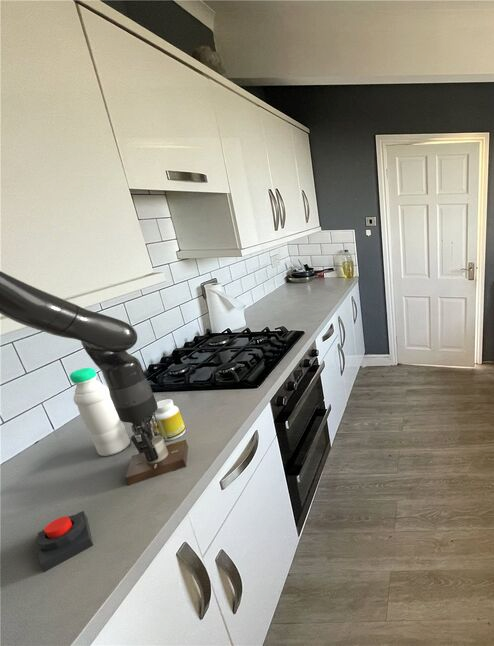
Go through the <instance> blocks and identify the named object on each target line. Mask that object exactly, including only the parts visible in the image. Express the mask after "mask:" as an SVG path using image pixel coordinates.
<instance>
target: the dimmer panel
mask: <svg viewBox="0 0 494 646" xmlns="http://www.w3.org/2000/svg"><path fill="white" fill-rule="evenodd" d="M165 445H166V448H167V450H168V456H167V457H166V458H165V459H163V460H161V461H159V462H157V463H153V464H148V463H146V461H145V458H144V456H143V453H137V454H133V455H131V458H130V461H129V464H128V467H127V470H126V473H125V477H124V479H125V481H126V483H127V485H128V486H131V485H135V484H138V483H140V482H144V481H146V480H149V479H152V478H155V477H159V476H161V475H164V474H168V473H171V472H174V471H177V470H180V469H183V468H186V467H187V460H188V451H189V444H188V442H187V439H183V440H180V441H176V442H174V443H170V444H165Z"/></svg>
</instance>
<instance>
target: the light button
mask: <svg viewBox="0 0 494 646" xmlns="http://www.w3.org/2000/svg"><path fill="white" fill-rule="evenodd" d="M72 525H73V524H72V522H71V520H70V518H69V517H68V516H61V517H57V518H56V519H54V520H52V521H51V522H49V523H48V524H47V525H46V526H45V527H44V529H43V530H44V532H45V533H46V535H47V537H48V538H50V539H52V538H56V537H58V536H60V535H62V534H64V533H66V532H67V531H68V530H69V529H71V527H72Z"/></svg>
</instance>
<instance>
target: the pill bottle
mask: <svg viewBox="0 0 494 646" xmlns="http://www.w3.org/2000/svg"><path fill="white" fill-rule="evenodd" d="M156 403H157V406H158V408H157V410H156V412H155V416H156V419H157V423H158V425H159V427H158V428H157V429H158V436H162V437H163V440H164V442H170V441H175V440H177V439H179V438H180V437H182V436H183V435H185V433H186V431H187V429H186V426H185V423H184V420H183V418H182V414H181V411H180V409H179V407H178V406H177V405H174V401H173V399H170V398H167V399H162V400H159V401H156Z"/></svg>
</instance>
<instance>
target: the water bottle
mask: <svg viewBox="0 0 494 646" xmlns="http://www.w3.org/2000/svg"><path fill="white" fill-rule="evenodd" d="M69 379H70V381H71V382H72V384H74V385H76V387H75V389H74V395H73V402H74V404H75V405H76V406H77V409H78V412H79V415H80V417H81V419H82V422H83V424H84V425H85V427H86V430H87V431H88V432H89V435H90V439H91V441H92V442H93V443H94V447H95V450H96V452H97V454H98V455H99V456H101V457H108V456H113V455H116V454H119V453H120V452H122V451H124V450H125V449H127V448H128V447H129V446H130V445H131V437H129V434H128V433H127V431H126V427H125V424H124V422H122V421H121V420H120V419H119V416H118V414H117V412H116V409H115V407H114V405H113V402H112V400H111V397H110V394H109V389H108V386H107V385H105V384H103V383H102V382H101V381H99V380H97V372H96V370H95V369H94V368H93V367H83V368H80V369H77V370H75V371H72V372H71V373H70V374H69Z"/></svg>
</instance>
